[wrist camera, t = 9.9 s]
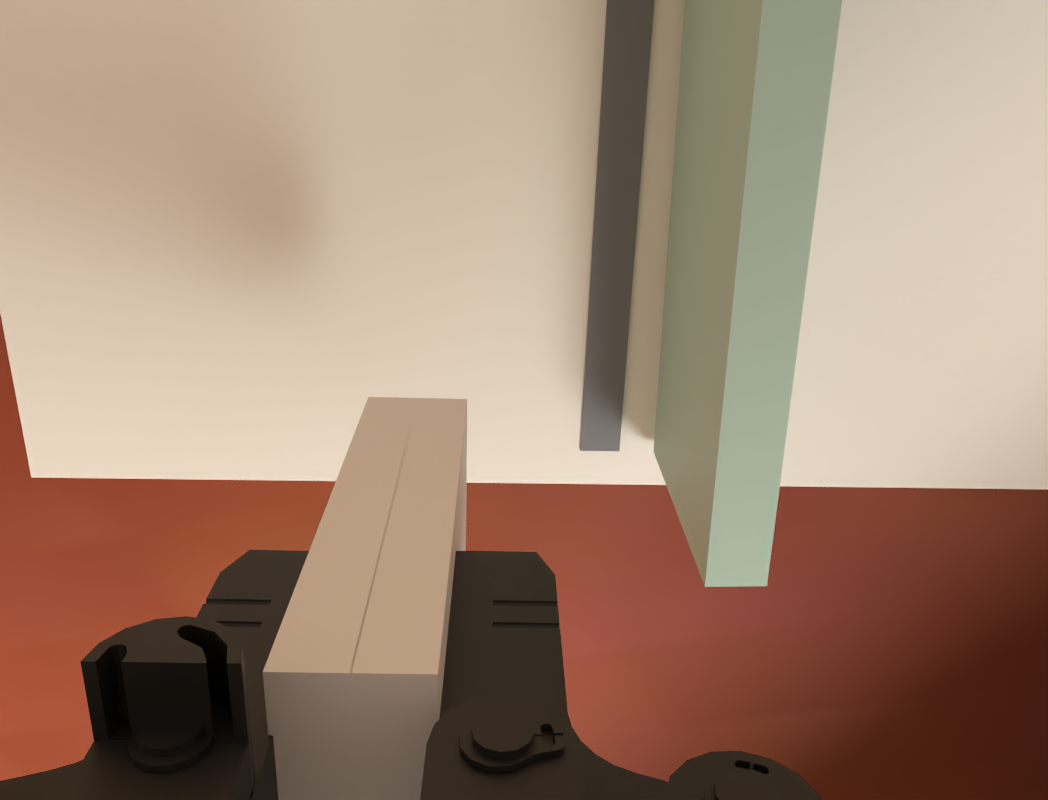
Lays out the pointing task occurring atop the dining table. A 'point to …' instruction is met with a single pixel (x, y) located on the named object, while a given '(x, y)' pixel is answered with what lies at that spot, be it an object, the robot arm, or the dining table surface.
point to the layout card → (497, 237)
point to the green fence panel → (739, 267)
